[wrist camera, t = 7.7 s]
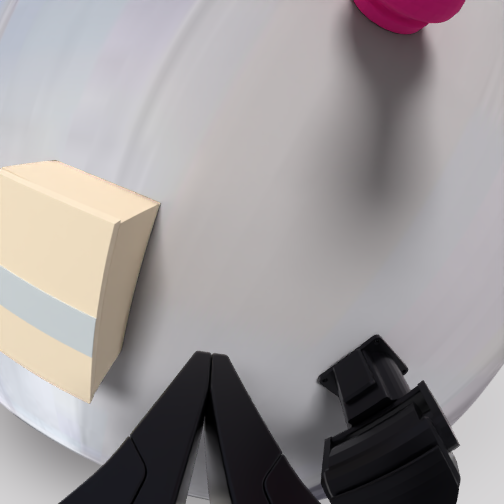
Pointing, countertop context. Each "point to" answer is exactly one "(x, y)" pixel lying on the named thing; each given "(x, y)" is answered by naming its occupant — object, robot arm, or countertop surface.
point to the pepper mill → (408, 13)
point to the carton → (125, 250)
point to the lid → (52, 282)
